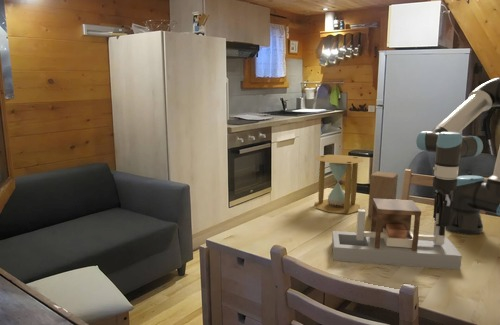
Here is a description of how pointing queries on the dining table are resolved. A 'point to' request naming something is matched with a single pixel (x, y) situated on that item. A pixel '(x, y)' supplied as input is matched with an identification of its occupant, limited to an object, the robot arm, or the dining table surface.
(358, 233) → the slider
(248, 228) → the dining table surface
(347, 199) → the hourglass
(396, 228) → the block
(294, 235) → the dining table surface
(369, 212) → the wooden block
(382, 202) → the tunnel
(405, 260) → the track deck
